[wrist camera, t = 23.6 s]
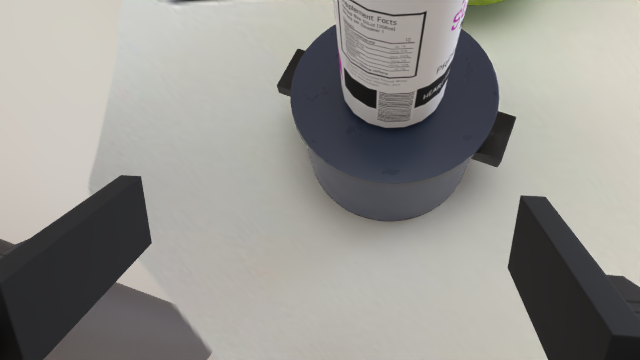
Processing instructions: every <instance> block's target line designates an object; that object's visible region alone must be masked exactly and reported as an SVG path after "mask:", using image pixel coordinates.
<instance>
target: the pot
mask: <svg viewBox="0 0 640 360" xmlns="http://www.w3.org/2000/svg"><path fill="white" fill-rule="evenodd" d="M277 88H278V91H279V93H281V94H284V95H287V96H290V97H291V108H292V114H293V117H294V121H295V124H296V127H297V130H298V132H299V134H300V136H301V138H302V140H303V141H304V142H305V144H306V145H307V147H308V151H309V154H310V158H311V162H312V166H313V169H314V172H315V175H316V177H317V179H318V181H319V183H320V185H321V186H322V188H323V189H324V190H325V192H326V193H327V194H328V195H329V196H330V197H331V198H332V199H333V200H334V201H335V202H336V203H337V204H339V205H340V206H342V207H343V208H345V209H346V210H348V211H350V212H352V213H354V214H356V215H359V216H362V217H365V218H368V219H373V220H379V221H400V220H406V219H411V218H414V217H417V216H420V215H423V214H425V213H427V212H429V211H431V210H432V209H434V208H436V207H437V206H439V205H440V204H441V203H442V202H444V201H445V200H446V199H447V198H448V197H449V196H450V195H451V193H452V192H453V191H454V190H455V188H456V187H457V185H458V184H459V182H460V179H461V177H462V175H463V173H464V171H465V169H466V167H467V164H468V162H469V160H470V158H471V159H474V160H477V161H480V162H483V163H486V164H489V165H492V166H494V167H498V166H499V164H500V162H501V160H502V158H503V155H504V152H505V149H506V146H507V143H508V140H509V137H510V134H511V131H512V129H513V126H514V123H515V120H516V117H515V116H511V115H508V114H505V113H502V112H499V111H498V105H499V86H498V81H497V77H496V73H495V71H494V68H493V65H492V63H491V61H490V60H489V58H488V56H487V54H486V53H485V51H484V50H483V49H482V47H481V46H480V45H479V44H478V43H477V42H476V41H475V40H474V39H473V38H472V37H471V36H470V35H469V34H468V33H466V32H465V31H464V30H462V29H461V30H460V34H459V38H458V42H457V46H456V49H455V53H454V57H453V61H452V64H451V68H450V72H449V76H448V79H447V83H446V87H445V91H444V95H443V97H442V99H441V101H440V103H439V104H438V106H437V108H436V110H435V111H434V112H432V113H431V114H430V115H429V116H427V117H426V118H425V119H424V120H422V121H420V122H417V123H415V124H412V125H409V126H406V127H395V128H385V127H381V126H377V125H374V124H370V123H368V122H366V121H365V120H363V119H362V118H360V117H359V116H357V115H356V114H354V113H353V111H352V110H351V108H350V107H349V106H348V104H347V103H346V101H345V99H344V94H343V89H342V84H341V73H340V62H339V51H338V41H337V30H336V25H334V26H332V27H331V28H329V29H328V30H326V31H325V32H324V33H322V34H321V35H320V36H319V37H318V38H317V39H316V40H315V41H314V42H313V43H312V44H311V45H310V46H309V47H308V49H307V50H306V51H304V50H301V49H297V51H296V52H295V54H294V56H293V58H292V59H291V61H290V63H289V65H288V67H287V68H286V70H285V72H284V74H283V75H282V77H281V79H280V81H279V82H278V84H277Z"/></svg>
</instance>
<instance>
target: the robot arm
mask: <svg viewBox="0 0 640 360" xmlns="http://www.w3.org/2000/svg"><path fill="white" fill-rule="evenodd" d="M151 243H152V242H151V236H150V230H149V223H148V217H147V211H146V205H145V199H144V192H143V186H142V180H141V176H124V175H121V176H119V177H118V178H117V179H115V180H114V181H112V182H111V183H109V184H108V185H106V186H105V187H104V188H102V189H101V190H99V191H98V192H96V193H95V194H93V195H92V196H91V197H89V198H88V199H86V200H85V201H83V202H82V203H80V204H79V205H78V206H76V207H75V208H73V209H72V210H71V211H69V212H68V213H66V214H65V215H63V216H62V217H61V218H59V219H58V220H56V221H55V222H53V223H52V224H50V225H49V226H48V227H46V228H44V229H43V230H42V231H40V232H39V233H37V234H36V235H34V236H33V237H32V238H30V239H28V240H25V241H23V242H21V243H18V244H16V245H14V246H13V247H12V248H10V249H9V250H7V251H6V252H4V253H3V254H2V255H1V256H0V360H43V359H44V358H45V357H46V356H47V355H48V354H49V353H50V352H51V351H52V349H53V348H54V347H55V346H56V345H57V344H58V343H59V342H60V341H61V340H62V339H63V338H64V337H65V336H66V334H67V333H68V332H69V331H70V330H71V329H72V328H73V327H74V326H75V325H76V324H77V323H78V322H79V320H80V319H81V318H82V317H83V316H84V315H85V314H86V313H87V312H88V311H89V310H90V309H91V308H92V307H93V305H94V304H95V303H96V302H97V301H98V300H99V299H100V298H101V297H102V296H103V295H104V294H105V293H106V292H107V290H108V289H109V288H110V287H111V286H112V285H113V284H114V283H115V282H116V281H117V280H118V279H119V277H120V276H121V275H122V274H123V273H124V272H125V271H126V270H127V269H128V268H129V267H130V266H131V265H132V264H133V263H134V261H135V260H136V259H137V258H138V257H139V256H140V255H141V254H142V253H143V252H144V251H145V250H146V249H147V248H148V246H149V245H150V244H151ZM508 269H509V272H510V274H511V276H512V278H513V281H514V283H515V285H516V288H517V290H518V292H519V294H520V297H521V299H522V301H523V303H524V306H525V308H526V310H527V313H528V315H529V317H530V319H531V322H532V324H533V326H534V328H535V331H536V333H537V335H538V338H539V340H540V342H541V344H542V347H543V349H544V351H545V353H546V356H547V358H548V360H640V287H639V286H637V285H635V284H634V283H632V282H631V281H629V280H628V279H626V278H625V277H623V276H613V275H606V274H605V273H604V272H603V270H602V269H601V268H600V267H599V265H598V264H597V263H596V261H595V260H594V259H593V258H592V256H591V255H590V254H589V252H588V251H587V250H586V249H585V247H584V246H583V245H582V243H581V242H580V241H579V239H578V238H577V237H576V236H575V234H574V233H573V232H572V230H571V229H570V228H569V227H568V225H567V224H566V223H565V221H564V220H563V219H562V218H561V216H560V215H559V214H558V212H557V211H556V210H555V209H554V207H553V206H552V205H551V203H550V202H549V201H548V199H547V198H546V197H539V196H521V197H520V202H519V208H518V214H517V219H516V225H515V230H514V236H513V241H512V247H511V253H510V258H509V264H508Z"/></svg>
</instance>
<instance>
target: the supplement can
mask: <svg viewBox="0 0 640 360" xmlns="http://www.w3.org/2000/svg"><path fill="white" fill-rule="evenodd" d="M467 4H468V0H334V9H335V19H336V30H337V41H338V51H339V62H340V73H341V84H342V89H343V94H344V99H345V101H346V103H347V104H348V106H349V107H350V108H351V110H352V111H353V113H354V114H356V115H357V116H359V117H360V118H362V119H363V120H365V121H366V122H368V123H370V124H374V125H377V126H381V127H385V128H395V127H406V126H409V125H412V124H415V123H417V122H420V121H422V120H424V119H425V118H426V117H427V116H429V115H430V114H431V113H432V112H434V111H435V110H436V108H437V106H438V104H439V103H440V101H441V99H442V97H443V95H444V91H445V87H446V83H447V79H448V76H449V72H450V68H451V64H452V61H453V57H454V53H455V49H456V46H457V42H458V38H459V34H460V30H461V27H462V23H463V19H464V15H465V12H466V8H467Z"/></svg>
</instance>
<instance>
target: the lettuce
mask: <svg viewBox="0 0 640 360" xmlns="http://www.w3.org/2000/svg"><path fill="white" fill-rule="evenodd" d="M502 1H504V0H468V4H467V5H488V4H493V3H498V2H502Z"/></svg>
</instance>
